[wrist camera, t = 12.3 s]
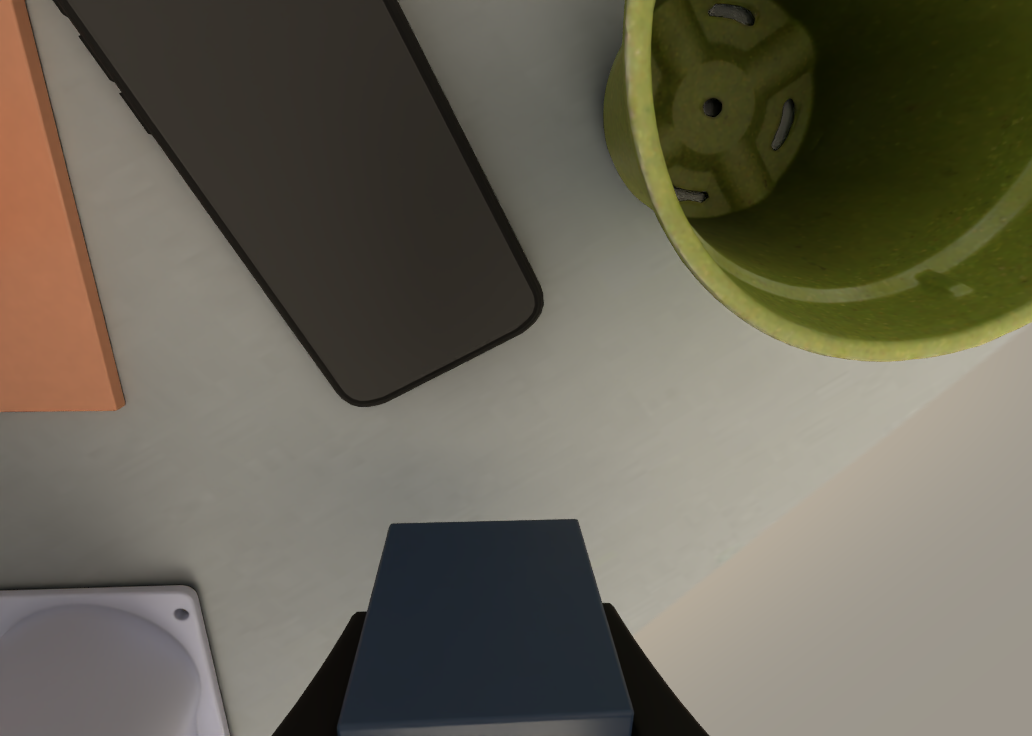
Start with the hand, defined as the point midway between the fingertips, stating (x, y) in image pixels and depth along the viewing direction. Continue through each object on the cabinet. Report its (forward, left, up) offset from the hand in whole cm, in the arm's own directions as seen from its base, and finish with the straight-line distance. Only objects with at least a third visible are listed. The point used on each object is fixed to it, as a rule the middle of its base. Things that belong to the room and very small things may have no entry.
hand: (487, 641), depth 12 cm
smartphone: (+11, +4, -7) cm, 14 cm away
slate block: (0, 0, -1) cm, 1 cm away
